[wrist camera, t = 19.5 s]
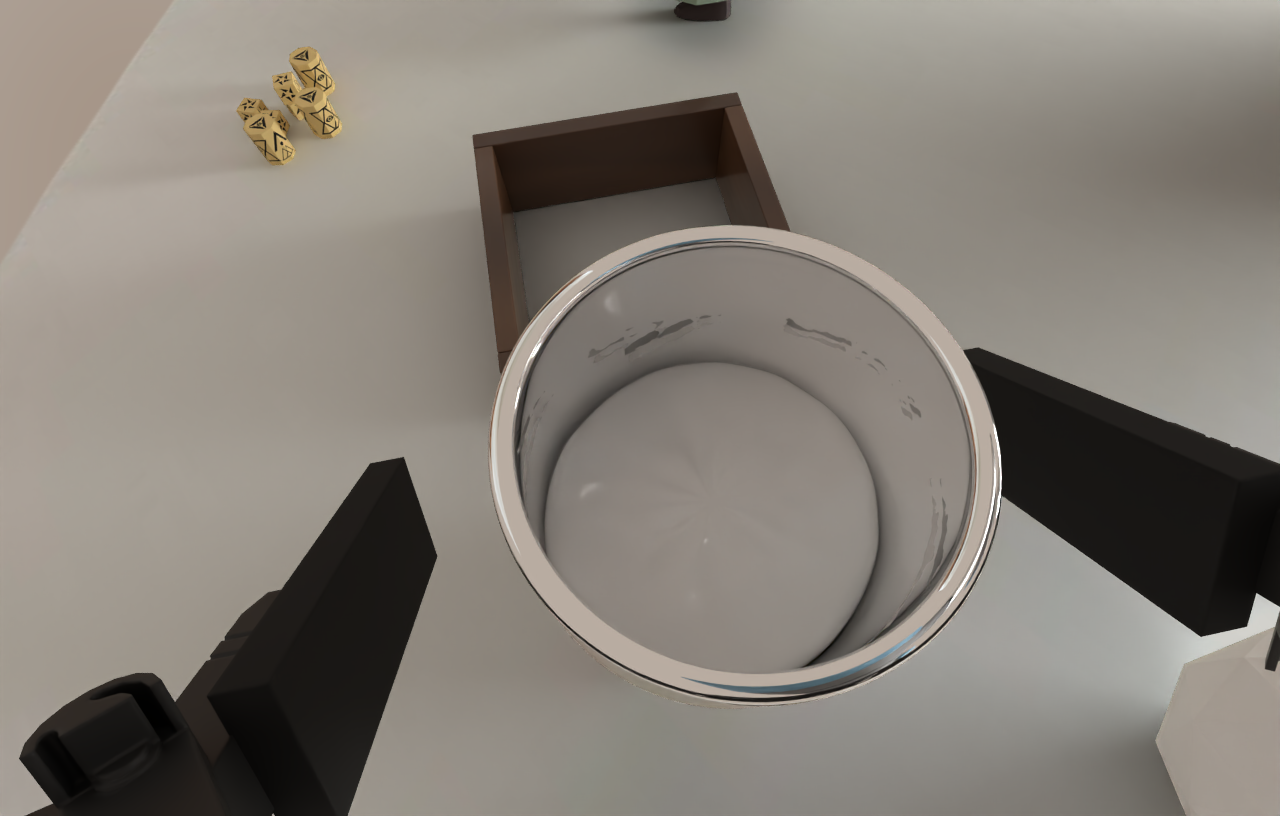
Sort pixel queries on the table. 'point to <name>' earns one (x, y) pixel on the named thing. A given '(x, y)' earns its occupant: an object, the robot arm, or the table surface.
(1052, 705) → the table surface
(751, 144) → the tray
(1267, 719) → the geometric ball
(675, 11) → the character figurine
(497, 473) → the beer glass
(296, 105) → the dice set
